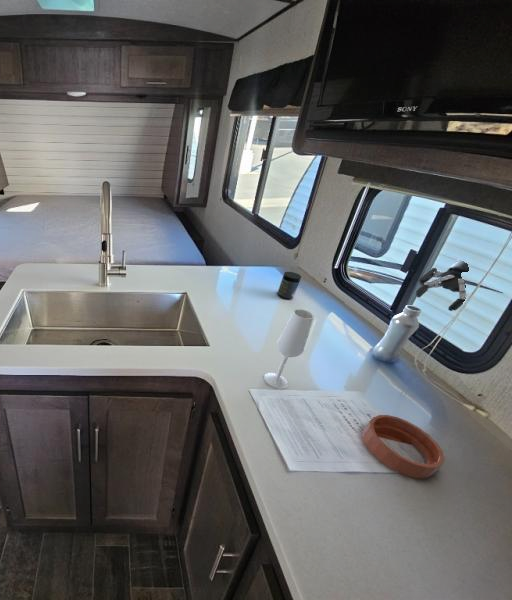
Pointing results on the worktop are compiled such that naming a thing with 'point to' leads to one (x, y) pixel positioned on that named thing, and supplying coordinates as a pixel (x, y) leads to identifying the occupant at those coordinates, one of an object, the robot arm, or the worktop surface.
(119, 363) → the worktop surface
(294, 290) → the supplement container
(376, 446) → the ring
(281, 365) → the champagne flute
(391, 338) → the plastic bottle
